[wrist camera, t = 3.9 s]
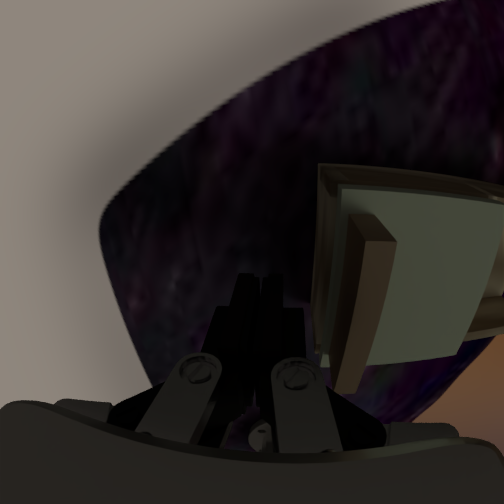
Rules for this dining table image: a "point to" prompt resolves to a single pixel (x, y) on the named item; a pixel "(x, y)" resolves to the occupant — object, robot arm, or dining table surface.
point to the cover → (404, 276)
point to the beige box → (330, 175)
